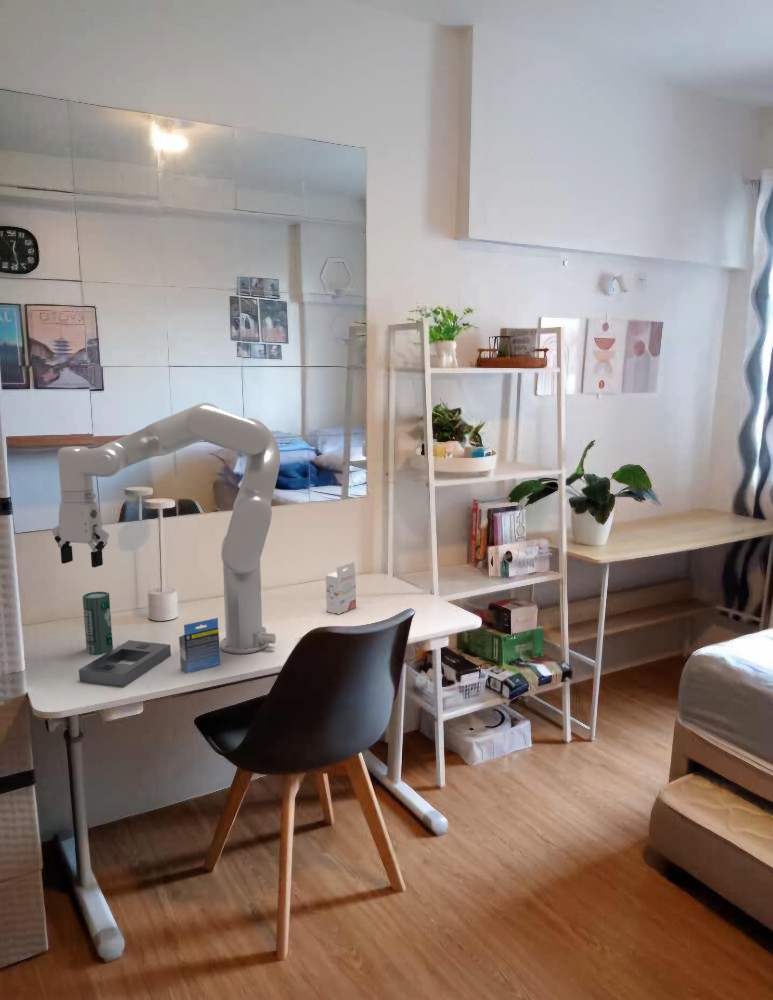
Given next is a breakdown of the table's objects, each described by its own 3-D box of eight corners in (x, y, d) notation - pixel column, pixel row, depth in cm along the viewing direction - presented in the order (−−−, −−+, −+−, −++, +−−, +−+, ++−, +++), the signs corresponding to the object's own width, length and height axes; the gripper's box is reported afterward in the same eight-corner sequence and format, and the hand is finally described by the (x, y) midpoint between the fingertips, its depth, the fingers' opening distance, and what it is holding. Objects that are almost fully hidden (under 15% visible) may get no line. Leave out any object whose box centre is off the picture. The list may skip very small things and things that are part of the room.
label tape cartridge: (214, 660, 190) (212, 613, 188) (220, 665, 187) (218, 617, 185) (180, 668, 185) (177, 620, 183) (186, 673, 182) (183, 625, 179)
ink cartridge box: (344, 605, 234) (343, 559, 231) (356, 608, 231) (356, 561, 228) (325, 612, 227) (324, 564, 225) (338, 615, 224) (337, 567, 222)
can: (116, 650, 197) (112, 595, 194) (93, 656, 193) (89, 600, 190) (106, 644, 201) (102, 590, 198) (83, 650, 197) (79, 594, 194)
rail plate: (170, 655, 193) (170, 644, 192) (124, 687, 174) (123, 674, 173) (130, 651, 196) (129, 639, 196) (79, 681, 177) (78, 669, 177)
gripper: (116, 496, 186) (120, 564, 189) (62, 492, 192) (67, 557, 195) (93, 501, 179) (98, 571, 182) (38, 496, 185) (44, 564, 188)
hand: (82, 564), depth 189 cm, fingers open, 9 cm apart
